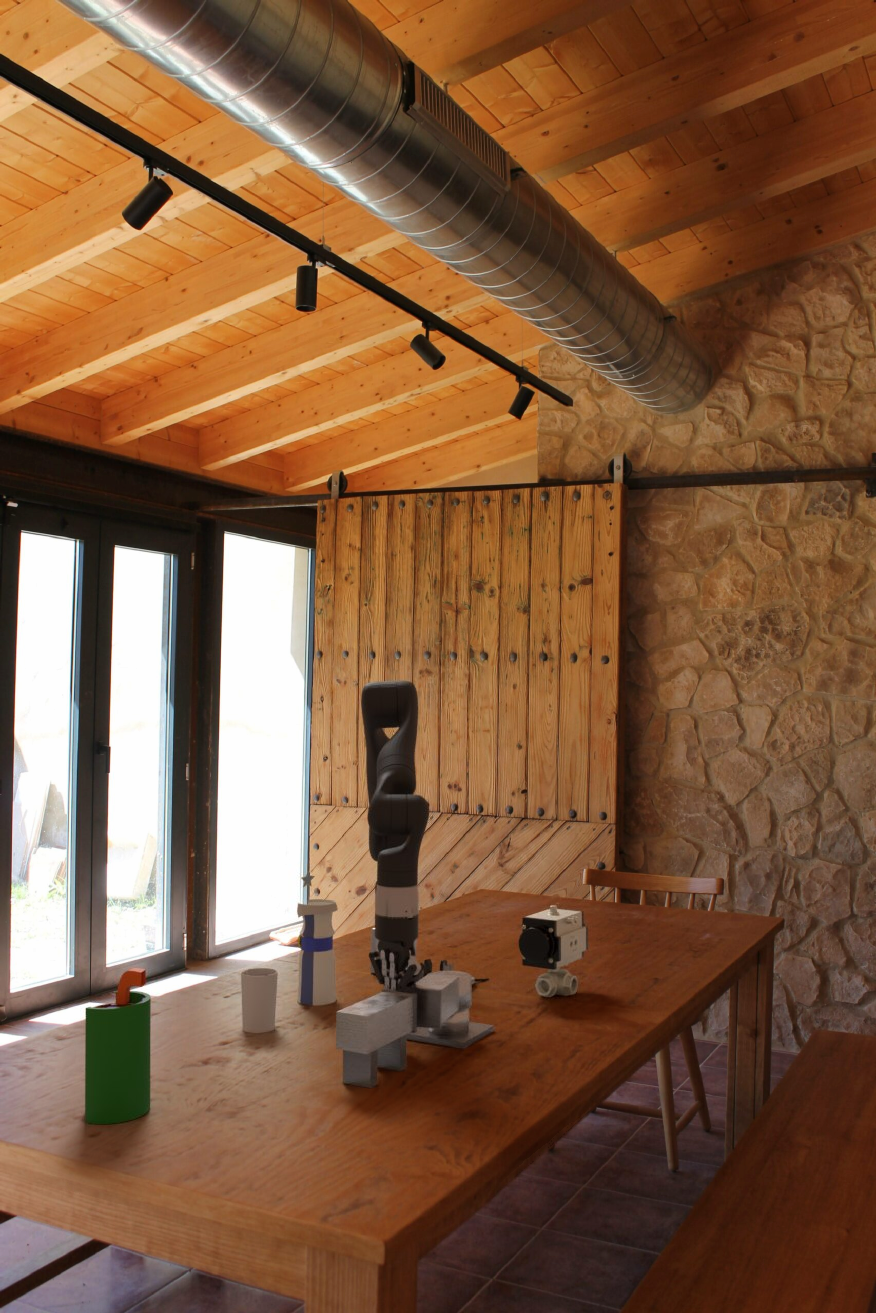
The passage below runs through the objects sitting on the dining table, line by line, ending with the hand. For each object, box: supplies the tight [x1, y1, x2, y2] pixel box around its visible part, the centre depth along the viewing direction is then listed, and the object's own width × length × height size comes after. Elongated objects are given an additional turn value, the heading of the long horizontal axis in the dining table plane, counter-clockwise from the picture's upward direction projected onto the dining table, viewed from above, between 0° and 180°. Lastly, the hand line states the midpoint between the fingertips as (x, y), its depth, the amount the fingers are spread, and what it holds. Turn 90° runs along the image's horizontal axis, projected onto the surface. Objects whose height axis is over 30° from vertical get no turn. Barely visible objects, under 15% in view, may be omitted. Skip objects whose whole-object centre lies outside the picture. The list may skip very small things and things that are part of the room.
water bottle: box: [296, 870, 338, 1006], centre depth 217 cm, size 8×9×25 cm
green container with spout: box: [84, 967, 152, 1125], centre depth 156 cm, size 10×9×20 cm
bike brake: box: [416, 958, 490, 985], centre depth 228 cm, size 14×7×20 cm
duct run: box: [335, 987, 417, 1089], centre depth 172 cm, size 15×6×11 cm, turn 152°
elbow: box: [404, 970, 472, 1029], centre depth 189 cm, size 19×8×6 cm, turn 162°
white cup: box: [240, 967, 279, 1034], centre depth 198 cm, size 7×7×10 cm
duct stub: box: [407, 1007, 495, 1049], centre depth 194 cm, size 12×12×5 cm
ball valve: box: [518, 904, 589, 998], centre depth 223 cm, size 18×8×18 cm, turn 148°
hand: (395, 1012), depth 187 cm, fingers closed
